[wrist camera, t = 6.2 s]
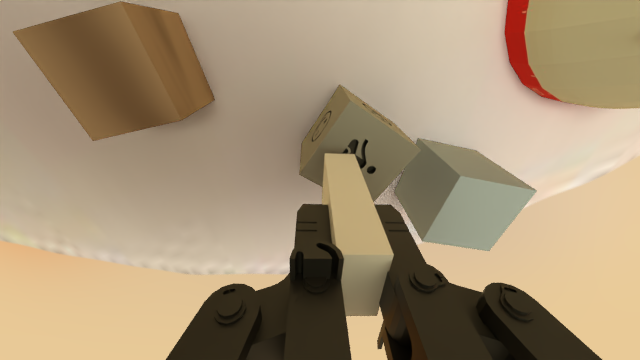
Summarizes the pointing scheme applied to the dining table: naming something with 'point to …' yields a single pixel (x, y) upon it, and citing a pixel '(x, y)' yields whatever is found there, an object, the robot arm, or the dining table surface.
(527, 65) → the kitchen timer
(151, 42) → the walnut block
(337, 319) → the robot arm
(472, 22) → the dining table surface
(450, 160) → the slate block
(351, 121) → the dice cube
